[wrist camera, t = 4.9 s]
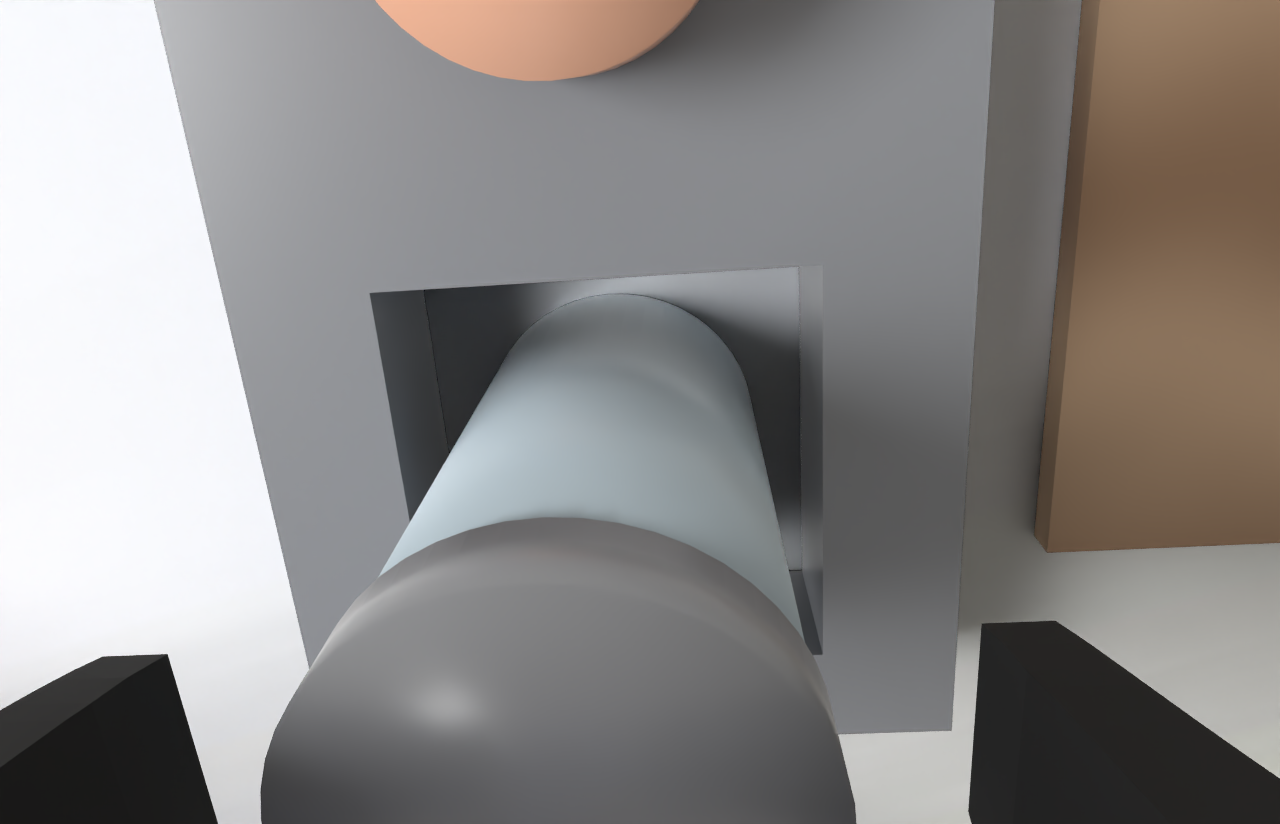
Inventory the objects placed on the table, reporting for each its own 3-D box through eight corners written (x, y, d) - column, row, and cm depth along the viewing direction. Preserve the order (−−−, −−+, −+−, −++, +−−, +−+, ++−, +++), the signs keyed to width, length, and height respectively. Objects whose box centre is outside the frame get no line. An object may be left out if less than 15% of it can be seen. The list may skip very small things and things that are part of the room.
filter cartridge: (761, 537, 16) (853, 1045, 8) (502, 548, 16) (322, 1051, 8) (754, 279, 15) (860, 569, 6) (467, 296, 15) (197, 597, 6)
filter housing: (913, 637, 17) (951, 730, 14) (374, 658, 17) (328, 750, 15) (957, -480, 11) (1031, -622, 9) (162, -394, 12) (35, -508, 9)
